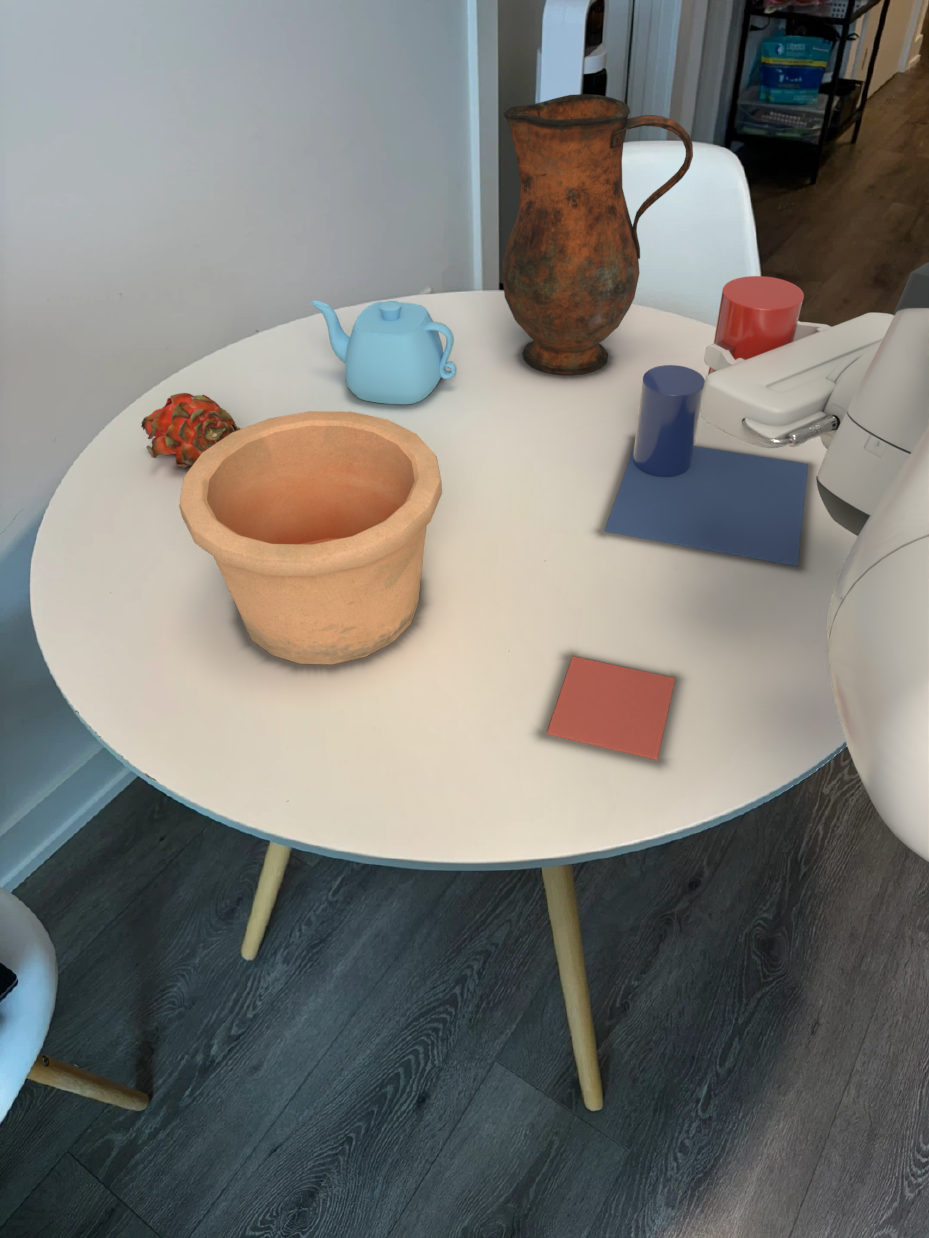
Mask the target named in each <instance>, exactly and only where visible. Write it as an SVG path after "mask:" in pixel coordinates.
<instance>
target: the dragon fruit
mask: <svg viewBox="0 0 929 1238" xmlns="http://www.w3.org/2000/svg"><path fill="white" fill-rule="evenodd" d="M140 425H141V426H140V427H141V428H142V430H143V431H145V434H146V435H147V436H148V437H147V439H148V440H151V446H150V445H146V450H147V451H148V454H149V456H150V457H151V458H152V459H156V458H157V457H159V456H169V455H173V454H174V455H175V464H176V466H177V467H179V468H184V469H186V468H188V467H192V466H193V464H194V463H195V462H196V460H197V459H198V458H199V457H200V455H201V454H202V453H203V452H204V451H206V450H207V449H209V448H210V447H212V446H213V445H215V444H216V443H218V442H219V441H220V440H222V439H223V438H225V437H226V436H228V435H229V434H231V433H232V432H235V431H238V430H240V429H241V428H240V427H239V426H238V425H237V424H236V422H235V420H234V418H233V417H232V415H231V414H230V413H229V412H227V410H226V409H224V408H223V407H221V406H220V404H218V403H217V401H215V400H213V399H212V398H210V397H209V396H208V395H206V394H201V395H200V394H198V395H193V394H192V393H188V392H180V393H176V394H171V395H170V396H169V397H168V398H167V399H166V403H165V405H164V406H162V407H161V408H158V409H155V410H153V412H152V413H151V414H149V415H146V416H145V417H144V418H143V419H142V422H141V424H140Z"/></svg>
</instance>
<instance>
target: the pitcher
mask: <svg viewBox="0 0 929 1238" xmlns="http://www.w3.org/2000/svg"><path fill="white" fill-rule="evenodd" d="M630 113H631V109H630V106H629V105H628V104H626V103H625V102H624V101H622V100H620V99H616V98H614V97H610V96H605V95H601V94H588V93H580V94H567V95H564V96H559V97H555V98H551V99H548V100H544V101H540V102H537V103H533V104H526V105H524V104H523V105H518V106H512V107H510V108H508V109H506V110H505V111H503V113H502V114H503V116H504V118H505V119H506V122H507V126H508V128H509V131H510V135H511V138H512V143H513V147H514V151H515V156H516V161H517V170H518V178H519V187H520V191H519V192H520V194H519V205H518V211H517V218H516V220H515V222H514V225H513V227H512V229H511V232H510V233H509V236H508V238H507V242H506V248H505V252H504V256H503V260H502V267H501V275H502V284H503V286H502V287H503V294H504V300H505V301H506V304H507V306H508V308H509V311H510V312H511V315H512V317H513V319H514V321H515V322H516V323H517V324H518V325H519V327H520V328H521V329H522V330H523V331H524V332H525V333H526V334H527V335H528V336H529V338H531V339H532V341H531V342H528V343H527V344H526V345H525V347H524V348H523V351H522V358H523V361H524V363H525V364H527V365H528V366H529V367H531V368H532V369H534V370H536V371H539V372H542V373H545V374H548V375H555V376H581V375H586V374H591V373H593V372H595V371H598V370H601V369H602V368H603V367H604V366H606V364H607V363H608V358H609V353H608V351H607V349H606V348H605V347H604V346H603V345H601V344H600V343H602V342H603V341H605V339H607V338H608V337H609V336H610V335H611V334H612V333H614V332H615V330H617V329H618V328H619V326H620V325H621V323H622V322H623V320H624V318H625V317H626V315H627V313H628V312H629V310H630V309H631V306H632V305H633V302H634V300H635V297H636V292H637V287H638V283H639V277H640V259H641V246H640V242H639V237H638V232H637V231H638V223H639V221H640V218H641V217H642V216H643V214H644V213H646V211H647V210H648V209H649V208H650V207H651V206H652V205H653V204H654V203H655V202H657V201H658V200H659V199H661V198H662V196H664V195H666V193H668V192H669V191H670V190H671V189H672V188H673V187H674V186H676V184H678V183H679V182H680V181H681V180H682V179H683V178H684V176H685V175H686V174H687V172H689V171H688V170H689V169H690V168H691V164H692V161H693V158H694V146H693V142H692V139H691V136H690V134H689V133H688V131H687V130H686V129H685V128H684V127H683V126H682V125H681V124H679V123H678V122H677V121H676V120H674V119H671V118H668V117H666V116H661V115H656V114H654V115H653V114H645V115H640V116H633V117H629V115H630ZM641 127H655V128H661V129H664V130H666V131H669V132H672V133H673V134H674V135H676V136H677V137H678V138H679V139H680V141H682V144H683V146H684V148H685V157H684V161H683V163H682V164H681V166H680V167H679V169H678V170H677V172H675V173H674V174H673V175H672V176H671V177H670V178H669V179H668V180H667V181H666V182H664V183H663V184H662V185H661V186H659V187H658V188H657V189H656V190H655V191H653V192H652V193H651V194H650V195H649V196H648V197H647V198H646V199H645V200H643V202H642V204H641V205H640V207H639V208H638V210H636V212H635V216H634V219H633V223H632V220H631V215H630V212H629V208H628V205H627V200H626V196H625V193H624V188H623V151H624V142H625V139H626V134H627V131H628V130H632V129H635V128H641Z"/></svg>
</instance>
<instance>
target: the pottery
mask: <svg viewBox="0 0 929 1238" xmlns="http://www.w3.org/2000/svg"><path fill="white" fill-rule="evenodd" d="M440 471H441V470H440V466H439V462H438V456H437V455H436V454H435V452H434V451H433V450H432V449H431V448H430V447H429V446H428V445H427V443H426V442H425V441H424V440H423V439H422V438H421V437H420V436H419V435H418V433H416V432H414V431H412V430H410V429H408V428H405V427H403V426H401V425H399V424H397V423H395V422H393V421H391V420H389V419H388V418H383V417H378V416H375V415H374V416H373V415H369V414H364V413H358V412H354V411H327V410H325V411H323V410H322V411H321V410H320V411H319V410H318V411H317V410H314V411H313V410H312V411H304V412H299V413H292V414H288V415H282V416H276V417H275V416H274V417H269V418H266V419H265V420H262V421H259V422H257V423H254V424H251V425H248V426H246V427H243V428H240V430H238V431H235V432H232V433H231V434H229V435H228V436H226V437H225V438H223V439H222V440H220V441H219V442H218V443H216V444H215V445H213V446H212V447H210V448H209V449H207V450H206V451H204V452H203V453H202V454H201V455H200V457H199V458H198V459H197V460H196V462H195V463H194V464H192V466H190V468H189V470H188V471H187V472H186V473H185V474H184V476H183V479H182V485H181V491H180V497H179V503H178V508H179V512H180V514H181V518H182V520H183V522H184V524H185V526H186V528H187V531H188V532H189V534H190V536H191V538H192V540H193V542H194V544H195V545H196V546H198V547H200V548H201V549H202V550H204V551H205V552H206V553H208V554H209V555H210V556H211V557H213V558H214V561H215V562H216V565H217V567H218V569H219V572H220V573H221V576H222V578H223V580H224V582H225V585H226V587H227V589H228V591H229V593H230V595H231V597H232V599H233V602H234V603H235V606H236V608H237V611H238V612H239V615H240V618H241V622H242V624H243V626H244V627H245V629H246V632H247V634H248V635H249V637H250V639H251V641H253V642H254V643H255V644H257V645H258V646H259V647H260V648H261V649H263V650H264V651H266V652H267V653H268V654H270V655H271V656H274V657H277V658H280V659H284V660H287V661H291V662H294V663H297V664H300V665H301V664H303V665H336V664H341V663H344V662H349V661H353V660H357V659H362V658H366V657H368V656H369V655H372V654H374V653H375V652H377V651H379V650H381V649H384V648H385V647H386V646H389V645H390V644H392V643H394V642H395V641H396V639H398V637H400V636H401V634H402V633H403V632H404V631H405V630H407V628H408V627H409V626H410V625H411V624H412V622H413V620H414V617H415V614H416V611H417V608H418V606H419V604H420V589H421V581H422V574H423V573H422V572H423V563H424V562H423V561H424V554H425V545H426V536H427V535H426V534H427V526H428V525H429V524H430V523H431V521H432V519H433V517H434V514H435V511H436V509H437V507H438V505H439V502H440V499H441V497H442V495H443V485H442V484H443V483H442V477H441V472H440Z"/></svg>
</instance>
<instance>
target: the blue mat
mask: <svg viewBox="0 0 929 1238" xmlns="http://www.w3.org/2000/svg"><path fill="white" fill-rule="evenodd" d="M633 453H634V447H633V448H632V452H631V454H630V457H629V460H628V463H627V465H626V468H625V471H624V474H623V476H622V479H621V483H620V485H619V487H618V491H617V494H616V497H615V500H614V503H613V505H612V508H611V511H610V514H609V517H608V520H607V523H606V525H605V528H604V532H605V533H610V534H615V535H620V536H626V537H632V538H638V539H643V540H648V541H649V540H650V541H655V542H660V543H666V544H671V545H676V546H682V547H687V548H692V549H693V548H694V549H698V550H705V551H711V552H715V553H720V554H721V553H722V554H727V555H733V556H738V557H744V558H749V559H755V560H761V561H765V562H771V563H777V564H783V565H787V566H792V567H793V566H794V567H798V565H799V557H800V548H801V547H800V546H801V537H802V526H803V519H804V518H803V516H804V507H805V499H806V498H805V497H806V489H807V480H808V479H807V477H808V469H809V463H808V462H807V463H806V462H800V461H793V460H787V459H781V458H774V457H767V456H760V455H755V454H748V453H741V452H740V453H739V452H735V451H728V450H722V449H715V448H714V449H713V448H709V447H703V446H696V445H694V450H693V455H692V461H691V466H690V468H689V469H688V470H687V471H686V472H684V473H683V474H680V475H677V476H673V477H658V476H653V475H650V474H647V473H645V472H643V471H641V470H640V469H638V468H637V467H636V465H635V464H634V462H633Z"/></svg>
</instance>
